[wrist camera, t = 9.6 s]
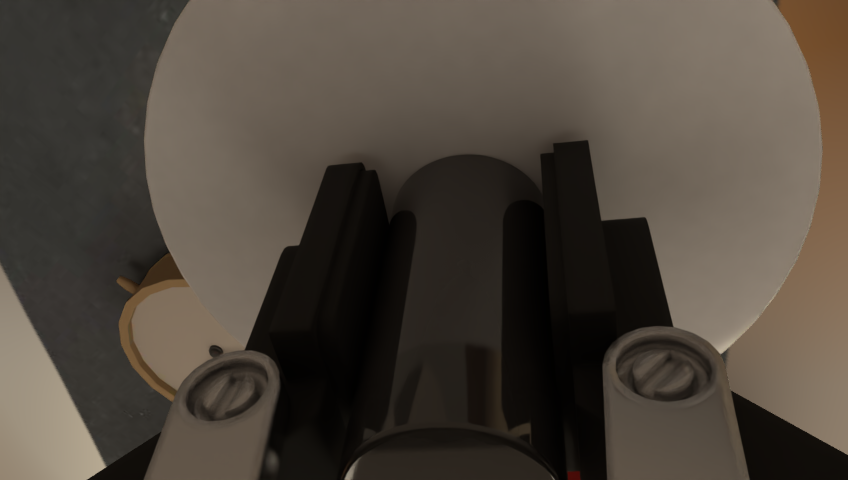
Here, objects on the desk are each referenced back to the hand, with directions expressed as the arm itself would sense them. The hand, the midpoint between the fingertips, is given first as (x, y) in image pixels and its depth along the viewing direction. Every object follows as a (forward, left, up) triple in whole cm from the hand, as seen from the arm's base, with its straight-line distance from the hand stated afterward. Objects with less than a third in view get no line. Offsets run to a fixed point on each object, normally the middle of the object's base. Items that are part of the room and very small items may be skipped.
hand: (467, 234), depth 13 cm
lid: (0, 0, -1) cm, 1 cm away
